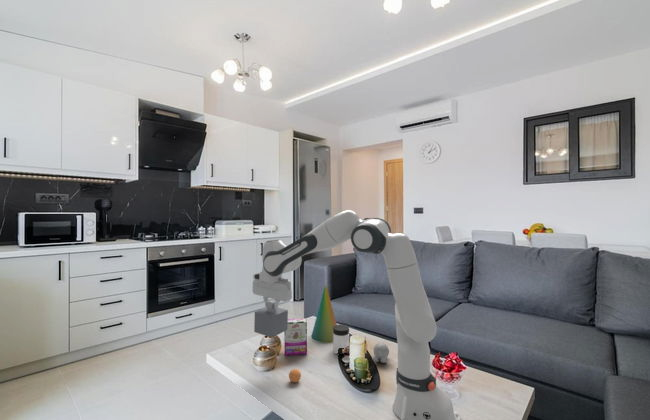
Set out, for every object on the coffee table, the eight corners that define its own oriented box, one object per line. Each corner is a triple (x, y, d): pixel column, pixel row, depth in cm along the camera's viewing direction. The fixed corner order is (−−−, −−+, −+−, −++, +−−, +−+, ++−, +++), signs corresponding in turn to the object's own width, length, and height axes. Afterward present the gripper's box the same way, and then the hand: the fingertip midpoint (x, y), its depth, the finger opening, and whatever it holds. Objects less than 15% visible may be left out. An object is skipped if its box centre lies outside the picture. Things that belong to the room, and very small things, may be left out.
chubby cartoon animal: (391, 363, 147) (393, 344, 150) (385, 364, 137) (387, 344, 140) (376, 359, 150) (379, 341, 153) (370, 360, 140) (372, 341, 143)
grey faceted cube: (287, 329, 136) (288, 301, 136) (271, 337, 128) (272, 307, 128) (270, 324, 142) (270, 297, 142) (254, 331, 133) (254, 302, 133)
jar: (338, 356, 148) (338, 332, 148) (329, 350, 155) (329, 326, 155) (352, 352, 153) (353, 328, 153) (343, 345, 160) (343, 323, 160)
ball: (303, 380, 128) (303, 368, 128) (295, 386, 123) (296, 374, 123) (293, 377, 130) (293, 365, 130) (286, 382, 126) (286, 370, 126)
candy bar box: (306, 350, 155) (306, 318, 155) (307, 354, 150) (307, 321, 150) (284, 351, 153) (284, 318, 153) (284, 356, 148) (284, 322, 148)
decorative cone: (324, 345, 160) (324, 288, 160) (305, 335, 172) (305, 282, 172) (345, 336, 171) (346, 283, 171) (326, 328, 183) (326, 278, 183)
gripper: (295, 278, 132) (294, 310, 132) (260, 272, 142) (259, 301, 143) (285, 281, 126) (285, 314, 126) (250, 274, 137) (249, 305, 137)
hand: (271, 307), depth 135 cm, fingers closed on grey faceted cube, 3 cm apart
